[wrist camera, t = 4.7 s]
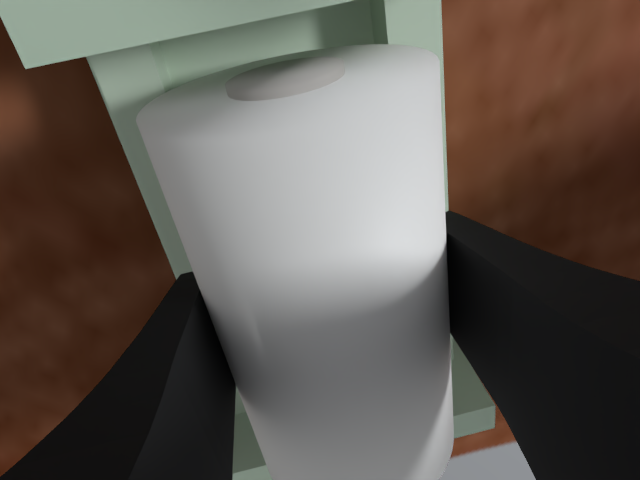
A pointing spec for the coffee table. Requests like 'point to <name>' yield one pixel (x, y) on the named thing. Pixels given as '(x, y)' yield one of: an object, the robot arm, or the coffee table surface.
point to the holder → (209, 57)
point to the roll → (321, 251)
